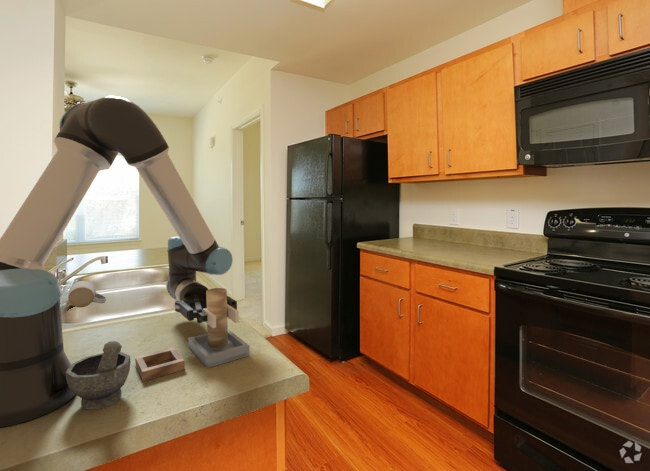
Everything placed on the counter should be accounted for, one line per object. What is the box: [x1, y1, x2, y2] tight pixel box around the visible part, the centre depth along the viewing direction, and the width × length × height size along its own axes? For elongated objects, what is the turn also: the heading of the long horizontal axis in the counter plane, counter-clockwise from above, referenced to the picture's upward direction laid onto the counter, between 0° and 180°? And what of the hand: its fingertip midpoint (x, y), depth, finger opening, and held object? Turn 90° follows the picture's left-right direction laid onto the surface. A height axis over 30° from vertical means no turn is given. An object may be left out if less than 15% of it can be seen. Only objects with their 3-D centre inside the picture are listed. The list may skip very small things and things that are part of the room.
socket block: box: [134, 347, 186, 382], centre depth 75 cm, size 8×8×2 cm
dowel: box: [206, 287, 229, 348], centre depth 82 cm, size 5×5×13 cm
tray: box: [188, 328, 250, 369], centre depth 83 cm, size 10×13×2 cm
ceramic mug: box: [67, 280, 107, 308], centre depth 119 cm, size 11×8×8 cm
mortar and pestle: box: [66, 340, 131, 410], centre depth 63 cm, size 11×9×12 cm
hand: (225, 319), depth 78 cm, fingers closed on dowel, 5 cm apart
